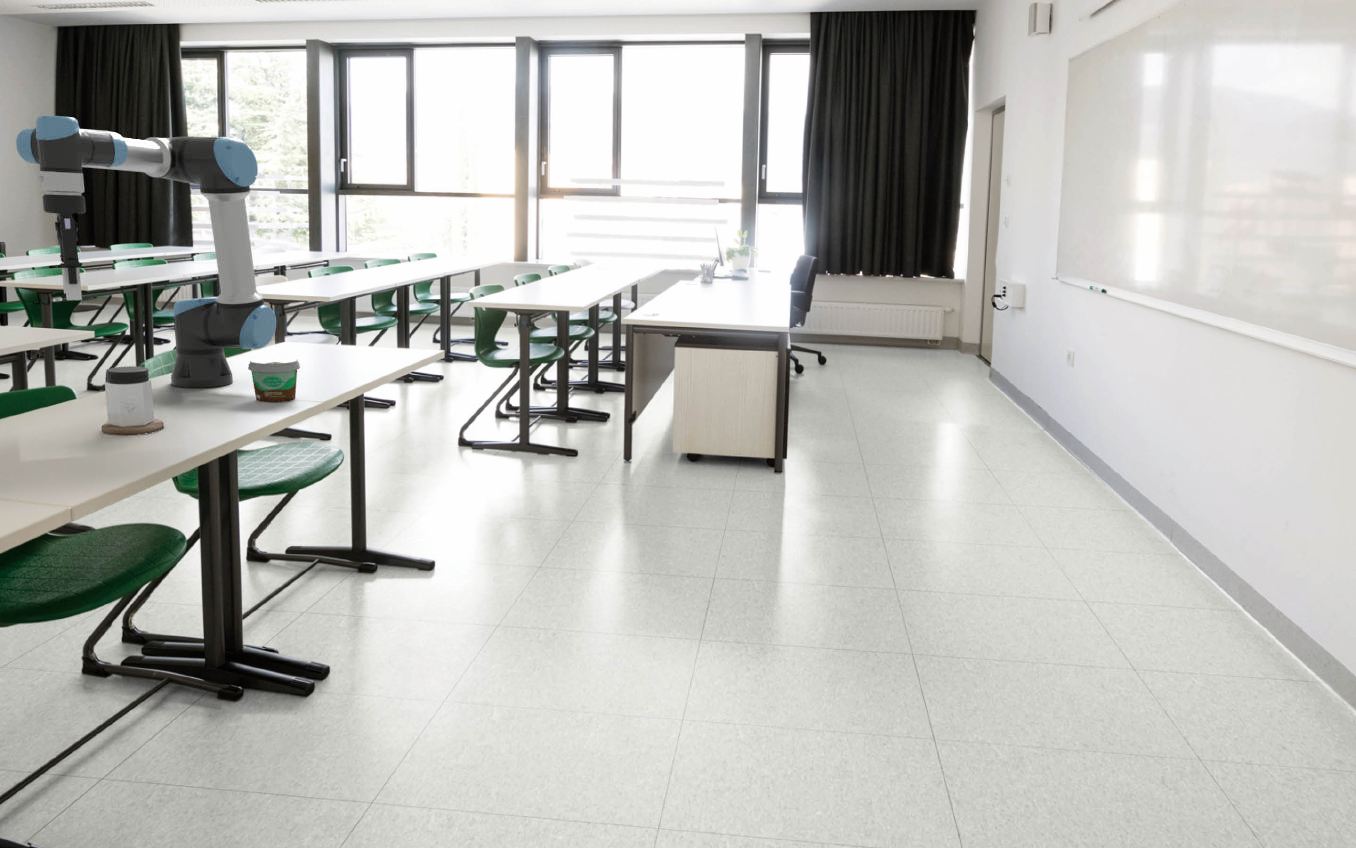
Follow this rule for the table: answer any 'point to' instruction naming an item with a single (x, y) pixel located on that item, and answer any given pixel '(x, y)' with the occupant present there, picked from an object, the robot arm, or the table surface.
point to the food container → (274, 381)
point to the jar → (129, 396)
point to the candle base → (133, 429)
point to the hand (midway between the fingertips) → (72, 296)
